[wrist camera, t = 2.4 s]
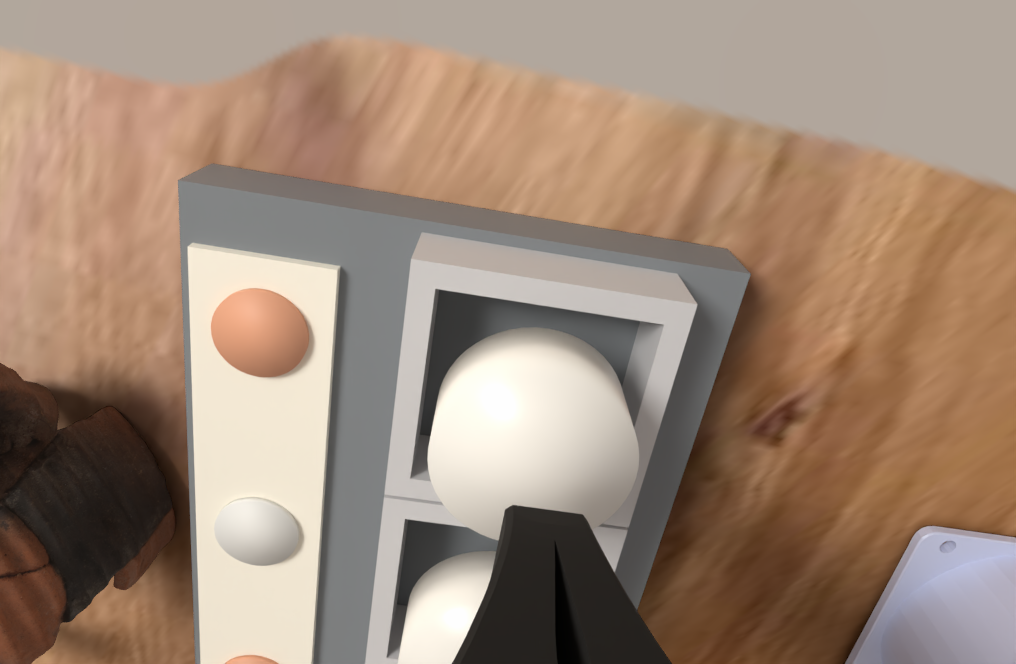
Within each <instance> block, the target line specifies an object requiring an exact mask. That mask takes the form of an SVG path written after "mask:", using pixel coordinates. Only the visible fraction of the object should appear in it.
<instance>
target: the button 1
mask: <svg viewBox="0 0 1016 664" xmlns="http://www.w3.org/2000/svg"><path fill="white" fill-rule="evenodd" d="M427 461H428V471H429V475H430V479H431V483H432V485H433V488H434V490H435V492H436V494H437V496H438V497H439V499H440V501H441V502H442V504H443V505H444V506H445V507H446V509H447V510H448V511H449V512H450V513H451V514H452V515H453V516H454V517H455V518H456V519H457V520H458V521H460V522H461V523H463V524H464V525H465V526H467V527H468V528H470V529H472V530H474V531H475V532H477V533H479V534H481V535H484V536H486V537H489V538H491V539H495V540H498V541H499V536H500V531H501V527H502V522H503V517H504V512H505V509H506V508H508V507H510V506H512V505H518V506H525V507H533V508H540V509H547V510H555V511H562V512H570V513H577V514H583V515H584V517H585V518H586V519H587V521H588V523H589V525H590V527H591V529H592V530H593V529H594V528H596V527H598V526H599V525H601V524H602V523H603V522H605V521H606V520H607V519H608V518H610V517H611V516H612V515H613V514H614V513H615V512H616V511H617V510H618V509H619V508H620V506H621V505H622V504H623V502H624V501H625V500H626V498H627V497H628V495H629V493H630V491H631V489H632V487H633V485H634V482H635V479H636V476H637V472H638V467H639V447H638V441H637V437H636V433H635V430H634V427H633V423H632V420H631V417H630V413H629V410H628V407H627V403H626V400H625V397H624V393H623V390H622V387H621V384H620V381H619V379H618V377H617V374H616V373H615V371H614V370H613V368H612V366H611V365H610V363H609V362H608V361H607V360H606V359H605V358H604V356H603V355H602V354H600V353H599V352H598V351H597V350H596V349H595V348H594V347H592V346H591V345H589V344H588V343H586V342H585V341H583V340H581V339H579V338H577V337H575V336H573V335H570V334H567V333H564V332H561V331H557V330H553V329H547V328H537V327H532V328H517V329H510V330H506V331H503V332H499V333H496V334H494V335H491V336H489V337H486V338H484V339H482V340H481V341H479V342H477V343H475V344H474V345H472V346H471V347H470V348H468V349H467V350H466V351H465V352H464V353H462V354H461V355H460V356H459V357H458V358H457V359H456V361H455V362H454V363H453V364H452V366H451V367H450V368H449V370H448V372H447V374H446V375H445V377H444V379H443V382H442V384H441V387H440V390H439V395H438V399H437V404H436V410H435V415H434V420H433V426H432V431H431V436H430V441H429V447H428V459H427Z"/></svg>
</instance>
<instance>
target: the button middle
mask: <svg viewBox="0 0 1016 664" xmlns="http://www.w3.org/2000/svg"><path fill="white" fill-rule="evenodd" d="M495 555H496V551H477V552H469V553H464V554H460V555H456V556H453V557H450V558H448V559H446V560H443V561H441V562H439V563H438V564H436V565H435V566H433V567H431V568H430V569H429V570H428V571H427V572H425V573H424V574H423V575H422V576H421V577H420V579H419V580H418V581H417V582H416V584H415V586H414V587H413V589H412V592H411V594H410V597H409V601H408V607H407V612H406V618H405V624H404V630H403V635H402V641H401V647H400V653H399V658H398V664H452V662H453V661H454V659H455V657H456V655H457V653H458V651H459V649H460V647H461V645H462V643H463V641H464V639H465V637H466V635H467V633H468V631H469V629H470V626H471V624H472V622H473V620H474V618H475V615H476V613H477V611H478V609H479V607H480V604H481V602H482V600H483V598H484V595H485V593H486V590H487V587H488V584H489V582H490V579H491V574H492V570H493V565H494V560H495Z"/></svg>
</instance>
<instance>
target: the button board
mask: <svg viewBox="0 0 1016 664" xmlns="http://www.w3.org/2000/svg"><path fill="white" fill-rule="evenodd" d="M178 192H179V220H180V248H181V276H182V304H183V332H184V360H185V388H186V416H187V444H188V472H189V500H190V528H191V556H192V584H193V612H194V640H195V664H398V658H399V653H400V647H401V641H402V635H403V630H404V624H405V618H406V612H407V607H408V601H409V597H410V594H411V592H412V589H413V587H414V586H415V584H416V582H417V581H418V580H419V579H420V577H421V576H422V575H423V574H424V573H425V572H427V571H428V570H429V569H430V568H431V567H433V566H435V565H436V564H438V563H439V562H441V561H443V560H446V559H448V558H450V557H453V556H456V555H460V554H464V553H469V552H477V551H496V550H497V546H498V540H495V539H491V538H489V537H486V536H484V535H481V534H479V533H477V532H475V531H474V530H472V529H470V528H468V527H467V526H465V525H464V524H463V523H461V522H460V521H458V520H457V519H456V518H455V517H454V516H453V515H452V514H451V513H450V512H449V511H448V510H447V509H446V507H445V506H444V505H443V504H442V502H441V501H440V499H439V497H438V496H437V494H436V492H435V490H434V488H433V485H432V483H431V479H430V475H429V471H428V461H427V459H428V447H429V441H430V436H431V431H432V426H433V420H434V415H435V410H436V404H437V399H438V395H439V390H440V387H441V384H442V382H443V379H444V377H445V375H446V374H447V372H448V370H449V368H450V367H451V366H452V364H453V363H454V362H455V361H456V359H457V358H458V357H459V356H460V355H461V354H462V353H464V352H465V351H466V350H467V349H468V348H470V347H471V346H472V345H474V344H475V343H477V342H479V341H481V340H482V339H484V338H486V337H489V336H491V335H494V334H496V333H499V332H503V331H506V330H510V329H517V328H532V327H537V328H547V329H553V330H557V331H561V332H564V333H567V334H570V335H573V336H575V337H577V338H579V339H581V340H583V341H585V342H586V343H588V344H589V345H591V346H592V347H594V348H595V349H596V350H597V351H598V352H599V353H600V354H602V355H603V356H604V358H605V359H606V360H607V361H608V362H609V363H610V365H611V366H612V368H613V370H614V371H615V373H616V374H617V377H618V379H619V381H620V384H621V387H622V390H623V393H624V397H625V400H626V403H627V407H628V410H629V413H630V417H631V420H632V423H633V427H634V430H635V433H636V437H637V441H638V447H639V467H638V472H637V476H636V479H635V482H634V485H633V487H632V489H631V491H630V493H629V495H628V497H627V498H626V500H625V501H624V502H623V504H622V505H621V506H620V508H619V509H618V510H617V511H616V512H615V513H614V514H613V515H612V516H611V517H610V518H608V519H607V520H606V521H605V522H603V523H602V524H601V525H599V526H598V527H596V528H594V529H593V530H592V531H593V533H594V535H595V537H596V539H597V541H598V543H599V545H600V546H601V548H602V550H603V552H604V554H605V556H606V558H607V560H608V561H609V563H610V565H611V567H612V569H613V571H614V572H615V574H616V576H617V578H618V580H619V581H620V583H621V585H622V586H623V588H624V590H625V592H626V593H627V595H628V597H629V598H630V600H631V601H632V603H633V605H634V606H635V608H636V610H637V609H638V606H639V603H640V600H641V597H642V594H643V591H644V588H645V586H646V583H647V580H648V577H649V574H650V571H651V568H652V565H653V562H654V559H655V556H656V553H657V550H658V547H659V544H660V541H661V538H662V535H663V532H664V529H665V526H666V523H667V520H668V517H669V514H670V512H671V509H672V506H673V503H674V500H675V497H676V494H677V491H678V488H679V485H680V482H681V479H682V476H683V473H684V470H685V467H686V464H687V461H688V458H689V455H690V452H691V449H692V446H693V443H694V440H695V438H696V435H697V432H698V429H699V426H700V423H701V420H702V417H703V414H704V411H705V408H706V405H707V402H708V399H709V396H710V393H711V390H712V387H713V384H714V381H715V378H716V375H717V372H718V369H719V366H720V364H721V361H722V358H723V355H724V352H725V349H726V346H727V343H728V340H729V337H730V334H731V331H732V328H733V325H734V322H735V319H736V316H737V313H738V310H739V307H740V304H741V301H742V298H743V295H744V292H745V290H746V287H747V284H748V281H749V278H750V275H751V274H750V273H749V271H748V270H747V269H746V268H745V267H744V266H743V265H742V264H741V263H740V262H739V261H738V260H737V259H736V258H735V257H734V255H733V254H732V253H731V252H730V251H729V250H728V249H724V248H718V247H712V246H706V245H700V244H694V243H688V242H682V241H676V240H670V239H664V238H658V237H652V236H646V235H640V234H634V233H628V232H622V231H616V230H610V229H604V228H598V227H592V226H586V225H579V224H573V223H567V222H561V221H555V220H549V219H543V218H537V217H531V216H525V215H519V214H513V213H507V212H501V211H495V210H489V209H483V208H477V207H471V206H465V205H459V204H453V203H447V202H441V201H435V200H429V199H423V198H417V197H411V196H405V195H399V194H393V193H387V192H380V191H374V190H368V189H362V188H356V187H350V186H344V185H338V184H332V183H326V182H320V181H314V180H308V179H302V178H296V177H290V176H284V175H278V174H272V173H266V172H260V171H254V170H248V169H242V168H236V167H230V166H224V165H218V164H210V165H208V166H206V167H204V168H202V169H200V170H198V171H196V172H194V173H192V174H190V175H188V176H186V177H184V178H182V179H180V180H178Z"/></svg>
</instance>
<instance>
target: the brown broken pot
mask: <svg viewBox="0 0 1016 664" xmlns="http://www.w3.org/2000/svg"><path fill="white" fill-rule="evenodd" d="M57 423H58V405H57V402H56V400H55V399H54V397H53V395H52V393H51V392H50V391H49V390H48V389H47V388H46V387H44V386H41V385H39V384H37V383H33V382H28V381H24V380H23V379H22V378H21V377H20V376H19V375H18V374H17V372H16V371H14V370H13V369H11V368H8V367H6V366H5V365H3V364H1V363H0V664H31V663H32V662H33V661H34V660H35V659H37V658H38V657H39V656H41V655H43V654H44V653H45V652H46V651H48V650H49V649H50V648H51V647H52V646H53V645H54V643H55V640H56V637H57V634H58V631H59V626H60V624H61V623H62V622H70V621H72V620H73V619H74V618H75V617H76V615H77V614H79V613H80V612H81V611H83V610H84V609H85V608H86V607H87V606H88V605H90V603H91V602H92V600H93V598H94V597H95V596H96V595H97V594H98V593H99V592H101V591H102V590H103V589H104V588H105V587H106V586H107V585H108V583H109V581H110V579H111V578H112V577H113V576H114V587H115V588H117V589H121V590H127V589H128V588H130V587H131V586H132V585H133V584H135V583H136V582H137V581H138V580H139V578H140V577H141V576H142V575H143V574H144V573H145V571H146V570H147V569H148V568H149V566H150V565H151V564H152V562H153V561H154V560H155V558H156V557H157V555H158V553H159V552H160V551H161V549H162V548H164V547H165V546H166V545H167V544H168V543H169V542H170V541H171V540H172V537H173V535H174V532H175V523H176V520H175V517H174V510H173V508H172V500H171V498H170V495H169V492H168V490H167V487H166V480H165V477H164V475H163V473H162V472H161V471H160V470H159V468H158V465H157V463H156V461H155V458H154V456H153V454H152V453H151V452H150V451H149V448H148V446H147V445H146V443H145V442H144V441H143V439H142V438H141V437H140V436H139V435H138V434H137V433H136V432H135V430H134V428H133V427H132V426H131V425H130V424H129V422H128V421H127V420H126V419H125V418H124V417H123V416H122V415H121V414H120V413H119V412H118V411H117V410H116V409H115V408H114V407H111V406H108V407H105V408H103V409H101V410H99V411H97V412H96V413H95V414H93V415H92V416H90V417H89V418H88V419H86V420H80V421H77V422H75V423H73V424H72V425H70V426H69V427H66V428H63V429H60V430H57Z"/></svg>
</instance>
